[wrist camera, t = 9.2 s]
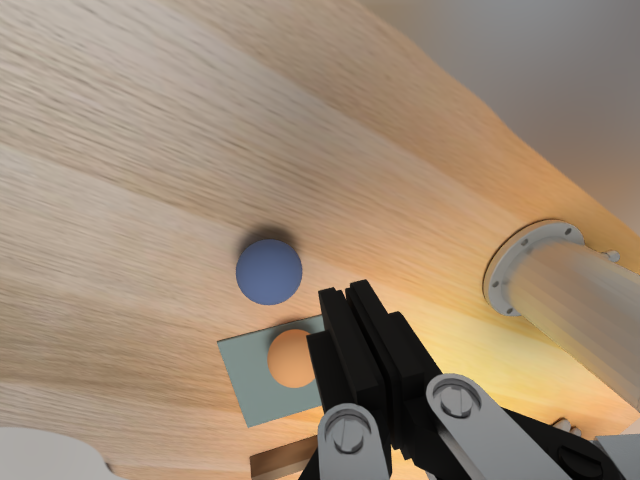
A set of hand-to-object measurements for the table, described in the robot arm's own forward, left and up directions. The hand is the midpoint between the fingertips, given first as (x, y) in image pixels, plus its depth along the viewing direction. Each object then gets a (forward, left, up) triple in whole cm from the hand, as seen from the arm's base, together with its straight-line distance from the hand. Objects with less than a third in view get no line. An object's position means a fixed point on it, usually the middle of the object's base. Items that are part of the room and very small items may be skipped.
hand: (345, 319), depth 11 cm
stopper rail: (+2, +36, -18) cm, 40 cm away
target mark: (+2, +22, -18) cm, 28 cm away
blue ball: (+2, +7, -15) cm, 17 cm away
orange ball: (+2, +17, -15) cm, 23 cm away
